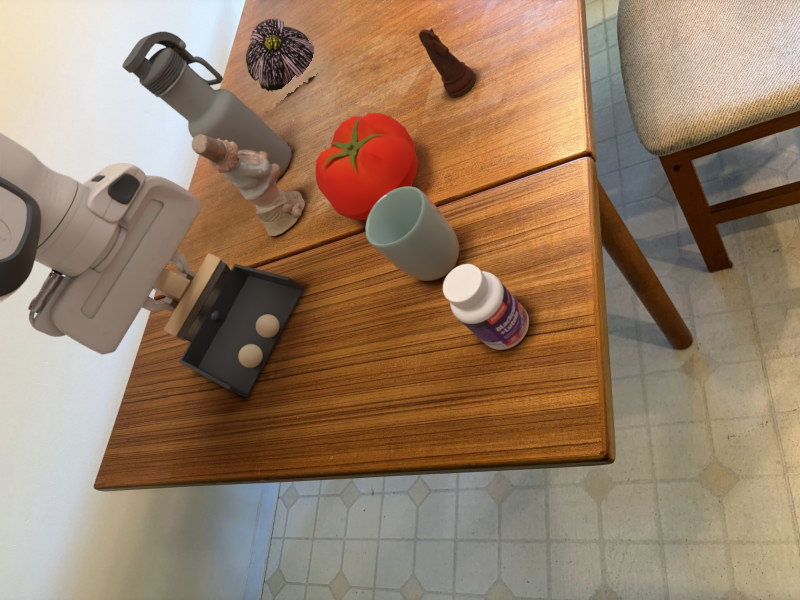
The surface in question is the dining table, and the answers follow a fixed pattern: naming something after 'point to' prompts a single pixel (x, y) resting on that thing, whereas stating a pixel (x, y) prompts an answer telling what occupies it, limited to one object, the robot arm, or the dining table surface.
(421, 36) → the chess piece
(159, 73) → the water bottle
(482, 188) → the dining table surface
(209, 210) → the dining table surface
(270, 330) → the crumb
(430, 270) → the cup
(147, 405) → the dining table surface
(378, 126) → the tomato
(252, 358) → the crumb
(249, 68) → the decorative flower
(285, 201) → the figurine
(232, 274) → the dustpan
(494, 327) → the pill bottle
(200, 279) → the brush
